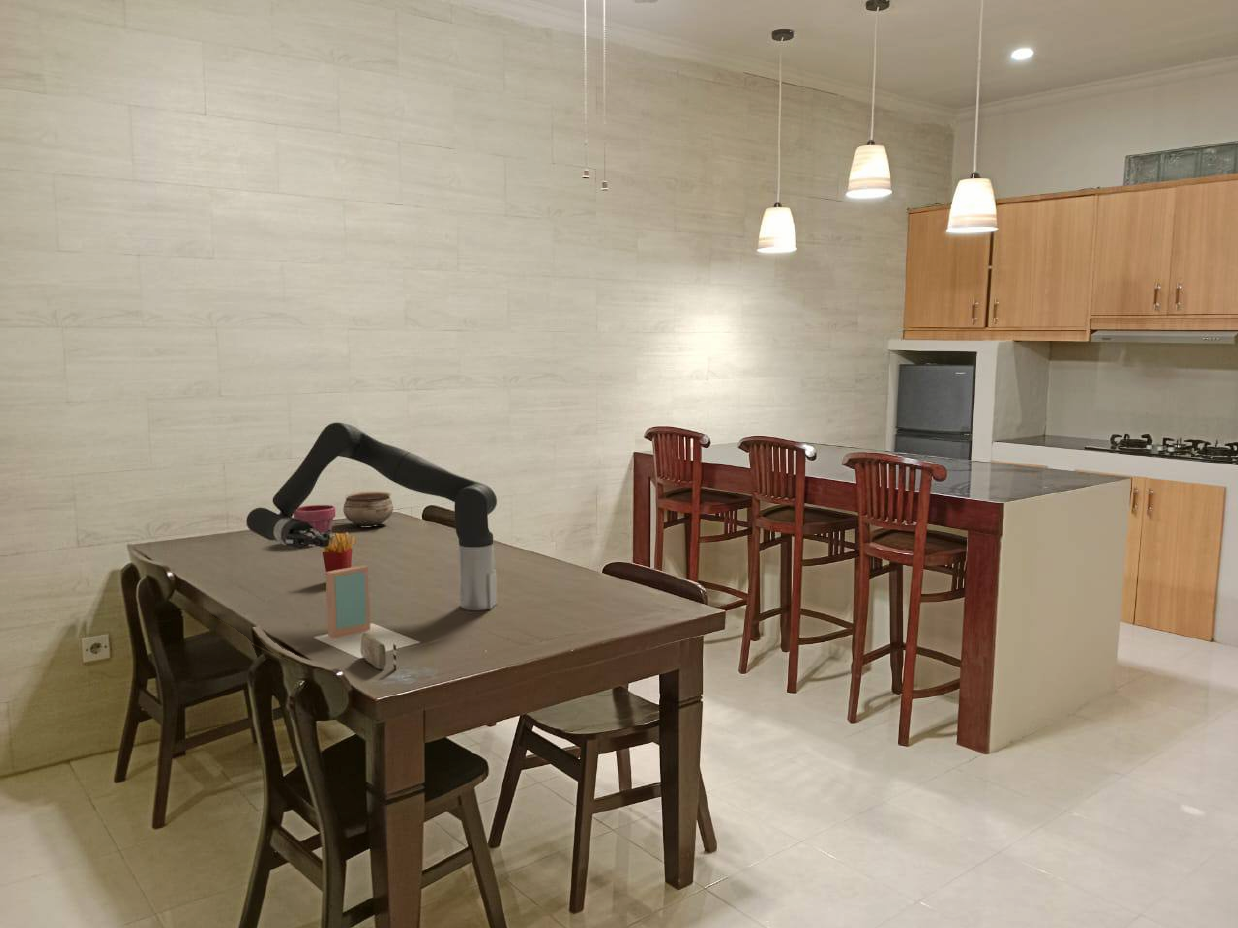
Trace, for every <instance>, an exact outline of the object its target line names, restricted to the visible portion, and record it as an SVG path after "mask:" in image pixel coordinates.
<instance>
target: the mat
mask: <svg viewBox="0 0 1238 928" xmlns="http://www.w3.org/2000/svg"><path fill="white" fill-rule="evenodd" d="M363 633H369V634H370V635H372V636H373V637H374V638H376V639H377V640H378V641H380V642H381V643H383V644H384V646H385V650H386V652H390V651H391V652H392V651H393V644H394V645H396V650H398V649H401V648H405V647H409V646H412V645H416V644H419V643H421V642H420V641H418V640H416V639H413V638H410V637H408V636H406V635H403V634H400V633H397V631H396V632H395V631H393V630H390V629H387V628H385V627H383V626H380V625H377V624H376V623H371V622H370V630H366V631H362V632H357V633H353V634H349V635H345V636H341V637H337V638H331V637H329V636H328V633H327V634H322V635H318V636H313V638H314V639H316V640H318V641H320V642H322V643H325V644H327V645H328V646H329V645H330V646H331V647H333V648H336V649H338V650H340V651H342V652H345V653H346V654H349V655H351V656H353V657H356V658H358V659H364V658H363V657H362V655H361V652H360V649H361V638H362V634H363Z"/></svg>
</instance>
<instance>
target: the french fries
mask: <svg viewBox="0 0 1238 928" xmlns="http://www.w3.org/2000/svg"><path fill="white" fill-rule="evenodd" d="M331 538H332V539H331V540H330V542H329V545H328V547H323V548H324V551H322V557H323V563H324V569H325V572H329V571H334V570H340V569H345V568H350V567H352V563H353V562H352V561H353V560H352V559H353V548H352V547H353V545H354V541H355V537H354V536H351V537H350V533H349V532H344V535H343V534H341V533H340V534H339V533H338V532H335V533H334V534H331ZM334 538H336V542H335V541H334Z"/></svg>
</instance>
